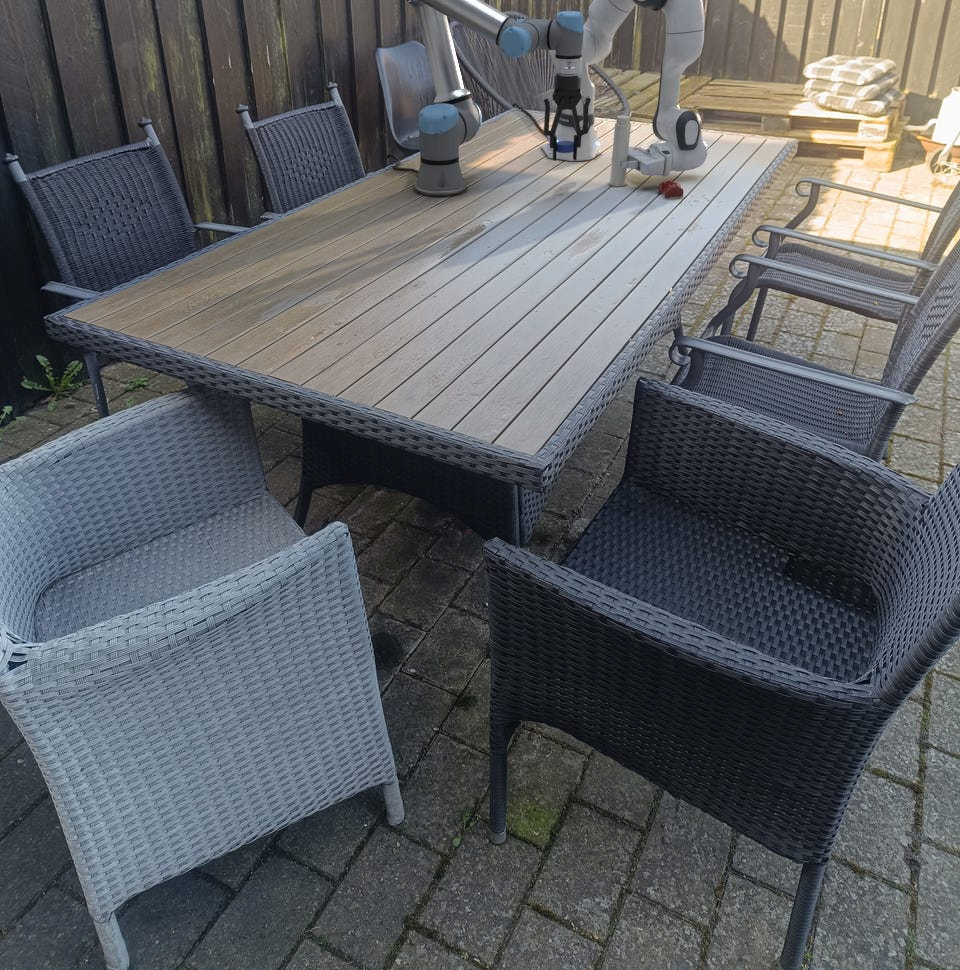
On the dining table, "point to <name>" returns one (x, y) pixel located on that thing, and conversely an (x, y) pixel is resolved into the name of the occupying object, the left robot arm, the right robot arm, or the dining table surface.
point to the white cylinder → (620, 150)
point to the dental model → (670, 189)
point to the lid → (565, 146)
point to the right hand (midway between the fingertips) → (616, 162)
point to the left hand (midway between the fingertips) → (564, 159)
